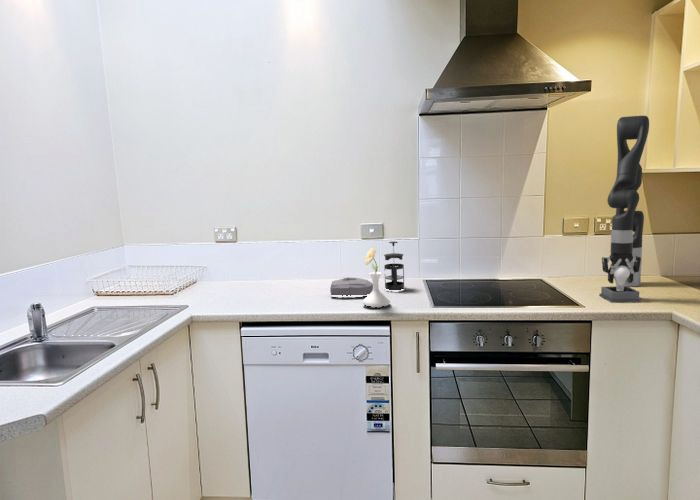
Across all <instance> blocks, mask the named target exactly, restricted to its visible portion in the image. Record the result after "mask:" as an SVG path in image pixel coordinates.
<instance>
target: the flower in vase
mask: <svg viewBox="0 0 700 500" xmlns="http://www.w3.org/2000/svg"><path fill="white" fill-rule="evenodd" d="M376 252H377V250H376V247H375V246H373V247H371V248H370V249H369V250H368V251H367V253H366V256H365V257H364V259H365V260H364V264H365V266H366V265H367V266H368V265H370V263H372V261H374V263H375V264H374V263H372V264H371V266H370V267H371V269H373V270H374V271H372V272H369V273H368V274H369V275H370V277H371V279H372V284H373V291H372V292H371V293H370V294H369V295H368V296H367V297H364V299H363V300H362V304H363V306H365V305H366V306H365V307H367V306H371V307H370V308H375V307H377V308H383V307H382V306H384V307H386V306H388V305H390V303H391V300H390V298H388V296H386V295H385V294H383V293H382V292H381V291H380V288H379V286H380V285H379V281H380V277H381V275H382V272H380V271H378V268H379V266H378V264H377V261H376V260H375V257H376Z"/></svg>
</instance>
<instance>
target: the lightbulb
mask: <svg viewBox="0 0 700 500" xmlns="http://www.w3.org/2000/svg"><path fill="white" fill-rule="evenodd" d="M613 274H614V281H615V284H616V285H615V287H616V290H617V291H618V292H622V291H624V284H625V282H626V280H627V279H628V277H629V276H630V270H629V268H628V267H627V266H618V267H617V269H616V270H615V271H614V273H613Z"/></svg>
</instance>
